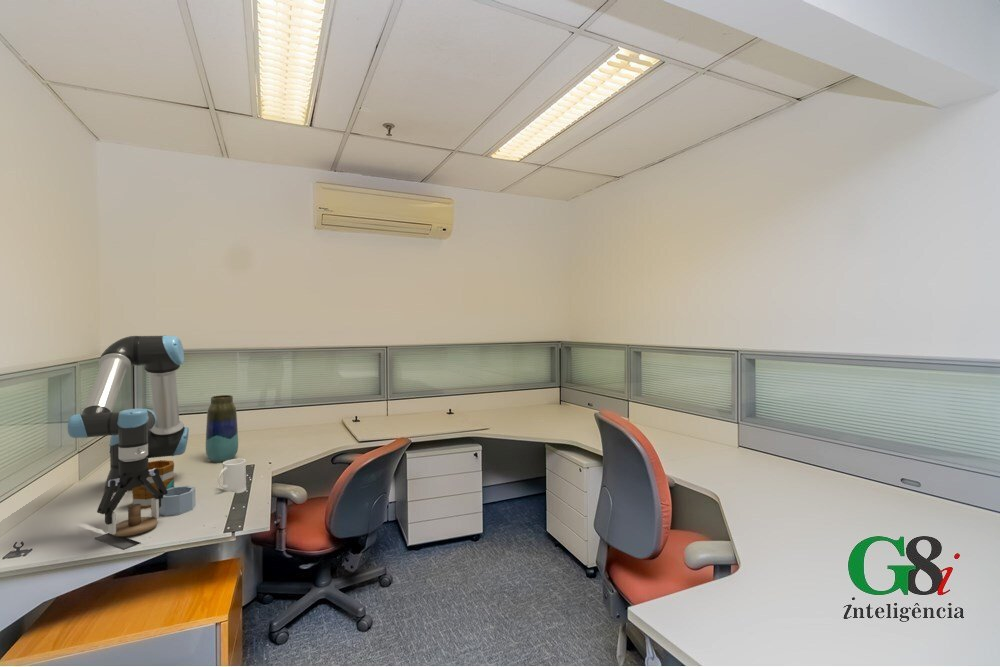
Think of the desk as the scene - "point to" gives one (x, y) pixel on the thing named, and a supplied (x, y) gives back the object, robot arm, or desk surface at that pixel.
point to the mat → (117, 541)
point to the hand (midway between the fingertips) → (134, 525)
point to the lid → (135, 522)
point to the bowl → (178, 501)
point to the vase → (221, 429)
